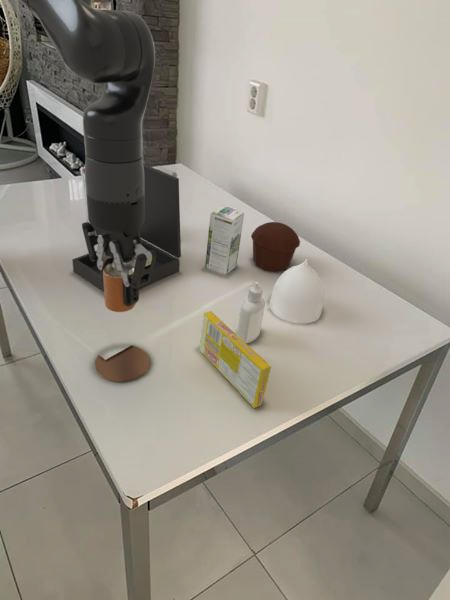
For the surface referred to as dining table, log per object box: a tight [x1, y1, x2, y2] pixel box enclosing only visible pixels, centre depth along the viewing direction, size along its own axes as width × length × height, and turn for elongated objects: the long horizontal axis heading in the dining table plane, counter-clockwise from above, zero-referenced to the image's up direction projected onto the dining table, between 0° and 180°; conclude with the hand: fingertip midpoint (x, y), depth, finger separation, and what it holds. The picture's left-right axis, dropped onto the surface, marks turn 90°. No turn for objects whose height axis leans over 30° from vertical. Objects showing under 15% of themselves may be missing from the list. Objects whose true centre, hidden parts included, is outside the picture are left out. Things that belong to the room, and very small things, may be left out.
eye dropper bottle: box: [236, 281, 266, 345], centre depth 83 cm, size 4×6×12 cm
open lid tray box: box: [71, 238, 181, 293], centre depth 99 cm, size 18×15×4 cm
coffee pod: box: [103, 262, 137, 313], centre depth 68 cm, size 5×5×6 cm
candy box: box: [199, 311, 272, 409], centre depth 74 cm, size 16×2×8 cm, turn 35°
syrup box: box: [204, 205, 245, 276], centre depth 102 cm, size 6×6×14 cm
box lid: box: [139, 163, 182, 259], centre depth 99 cm, size 18×15×5 cm
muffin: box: [251, 221, 301, 273], centre depth 108 cm, size 12×11×10 cm
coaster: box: [94, 345, 150, 383], centre depth 76 cm, size 9×9×1 cm
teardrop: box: [269, 258, 326, 325], centre depth 92 cm, size 11×11×12 cm
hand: (120, 296), depth 69 cm, fingers closed on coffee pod, 4 cm apart
